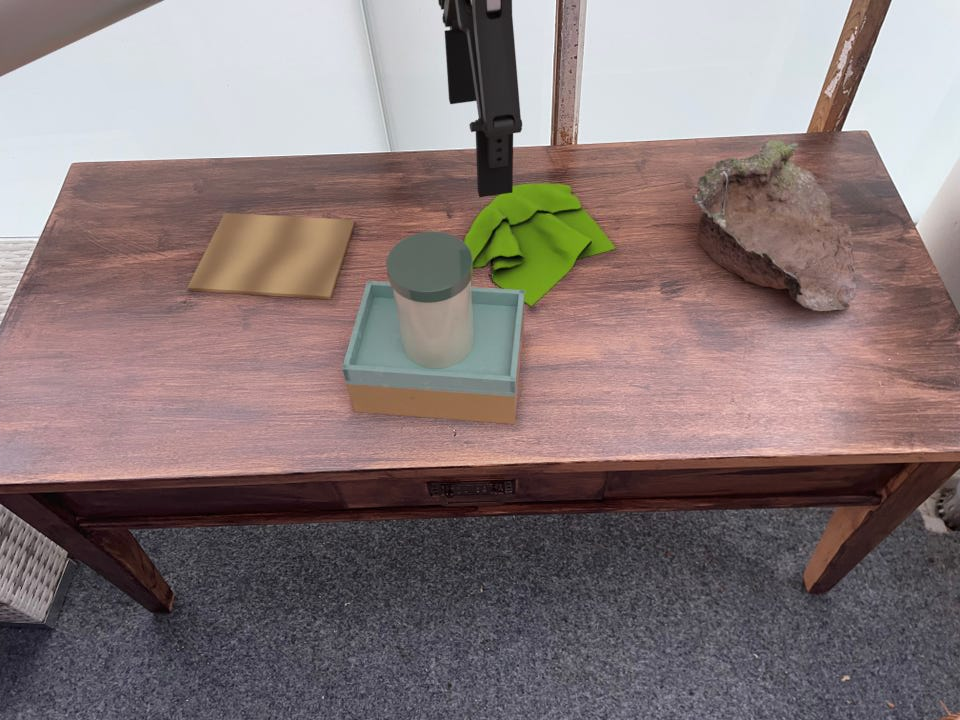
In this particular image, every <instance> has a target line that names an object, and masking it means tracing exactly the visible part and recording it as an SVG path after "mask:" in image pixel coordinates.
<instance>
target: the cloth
mask: <svg viewBox="0 0 960 720" xmlns="http://www.w3.org/2000/svg"><path fill="white" fill-rule="evenodd" d="M580 201H581V200H580V199H579V198H578V196H576V195H573V194H572V187H571V185H568V184H563V183H551V182H550V183H549V182H540V183H523V184H518V185H513V192H512V193H506V194H500V195H496V196H495V197H494V199H493V200H492V201H491V202H490V203H489V204H488V205H486V206H485V207H484V208H483V209H482V210H481V211H479V213H478V214H477V216H476V217H475V219H474V221H473V223H472V224H471V226H470V228H469V230H468V232H467V234H466V235H465V237H464V239H463V240H462V241H463V242H464V243H465V244H466V245H467V246H468V247H469V249H470V251H471V254H472V259H473V269H477V268H478V269H479V268H483V267H486V266H487V265H488V263H489V261H491V260H492V259H493V260H492V264H493V265H492V267H491V269H492V270H491V278H492V279H491V280H492V282H493V283H494V284H496V285H497V286H498V287H499V288H500V289H512V290H525V296H524V304H525V305H526V304H527V305H528V306H529V307H533V306H534V305H535V304H537V302H538V301H540V299H542V297H544V296H545V295H546V294H547V293H548V292H549V291H550V290H551V289H552V288H553V287H555V285H557V283H559V282H560V281H561V280H562V279H563V278H564V277H565V276H566V275H567V274H568V273H569V272H570V271H571V270H572V269H573V267H574V265H575V263H576V261H577V260H580V259H584V258H587V257H592V256H597V255H600V254H603V253H607V252H610V251H614V250H616V248H617V247H615V245H614V244H613V243H612V241H611V240H610V239H609V237H608V236H607V235H606V233H605V232H604V231H603V230H602V228H601V227H600V226H599V225H598V223H597V222H596V221H595V220H594V218H593V217H591V216H590V214H588V212H587V211H586V210H585V209H584V207H582V205H581V202H580Z"/></svg>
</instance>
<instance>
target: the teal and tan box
mask: <svg viewBox="0 0 960 720" xmlns="http://www.w3.org/2000/svg"><path fill="white" fill-rule="evenodd" d="M524 296H525V290H512V289H502V288H494V287H478V286H472V301H473V320H474V345H473V348H472V350H471V352H470V353H469V354H468V356H467V357H466V358H465V359H463V360H462V361H461V362H459V363H457V364H455V365H453V366H450V367H446V368H438V369H435V368H427V367H423V366H420V365H418V364H416V363H414V362H413V361H411V360H410V359H409V358H408V357H407V355H406V354H405V352H404V350H403V347H402V341H401V335H400V330H399V324H398V318H397V312H396V307H395V301H394V295H393V290H392V286H391V285H390V282H389V281H380V280H379V281H378V280H377V281H376V280H367V281H366V283H365V287H364V289H363V294H362V297H361V301H360V305H359V308H358V310H357V315H356V317H355V321H354V324H353V328H352V332H351V334H350V335H351V336H350V339H349V341H348V342H349V343H348V345H347V346H348V347H347V349H346V353H345V356H344V360H343V363H342V366H341V371H342V374H343V377H344V381H345V384H346V388H347V391H348V394H349V397H350V403H351V405H352V408H353V412H354V413H362V414H363V413H366V414H375V415H377V414H379V415H388V416H389V415H391V416H404V417H417V418H427V419H428V418H429V419H441V420H453V421H455V420H456V421H467V422H479V423H480V422H481V423H492V424H493V423H494V424H509V425H515V424H516V417H517V407H518V405H517V404H518V395H519V385H520V376H521V375H520V374H521V364H522V355H523V354H522V353H523V345H524V344H523V343H524V341H523V340H524V324H525V323H524V322H525V302H524Z"/></svg>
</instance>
